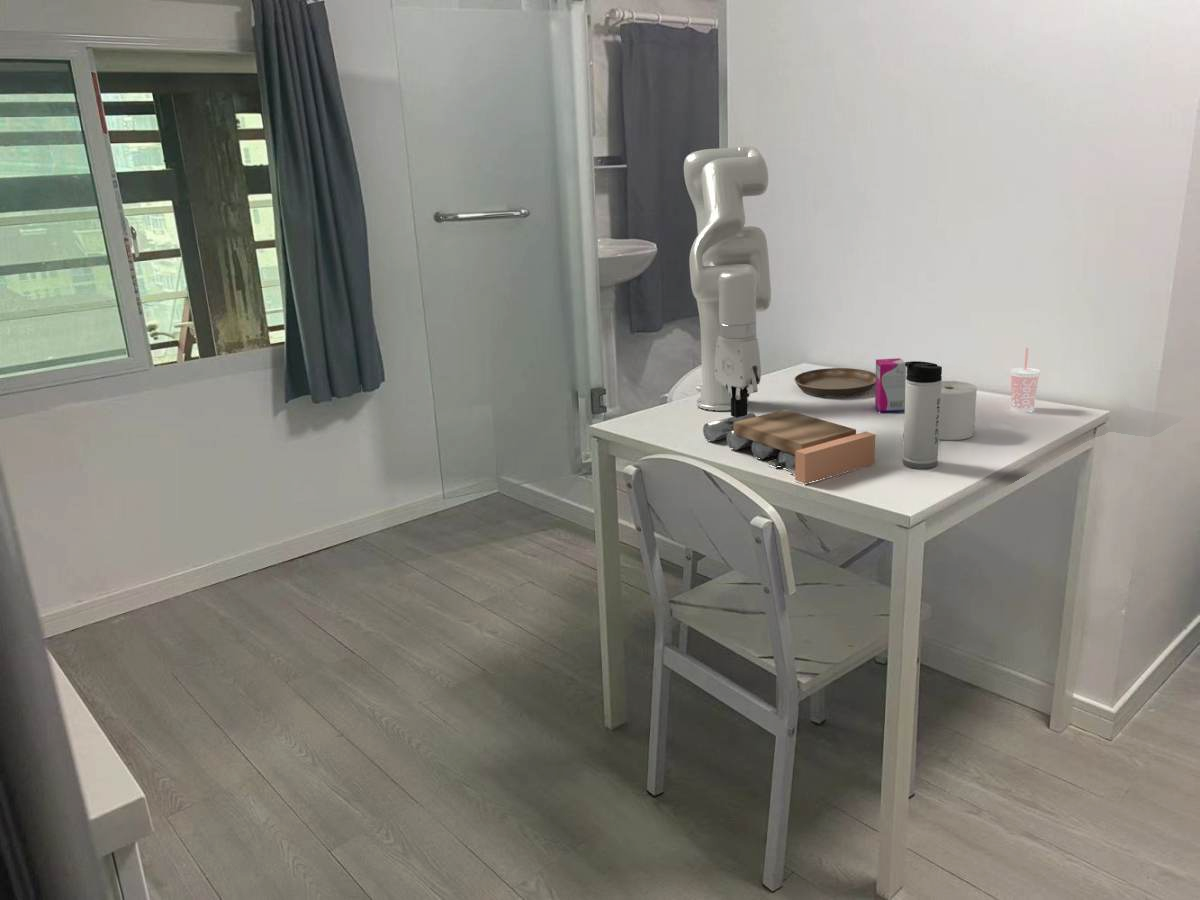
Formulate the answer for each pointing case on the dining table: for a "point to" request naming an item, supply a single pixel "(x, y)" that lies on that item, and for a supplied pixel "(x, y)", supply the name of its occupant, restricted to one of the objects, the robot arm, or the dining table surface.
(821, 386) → the plant saucer
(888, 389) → the supplement box
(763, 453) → the cylinder
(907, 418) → the travel mug
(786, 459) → the roller
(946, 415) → the toilet tissue
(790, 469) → the cradle
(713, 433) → the rear roller
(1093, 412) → the dining table surface
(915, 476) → the dining table surface
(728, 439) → the middle roller
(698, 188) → the robot arm
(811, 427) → the slab
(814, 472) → the bar
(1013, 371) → the beverage cup
